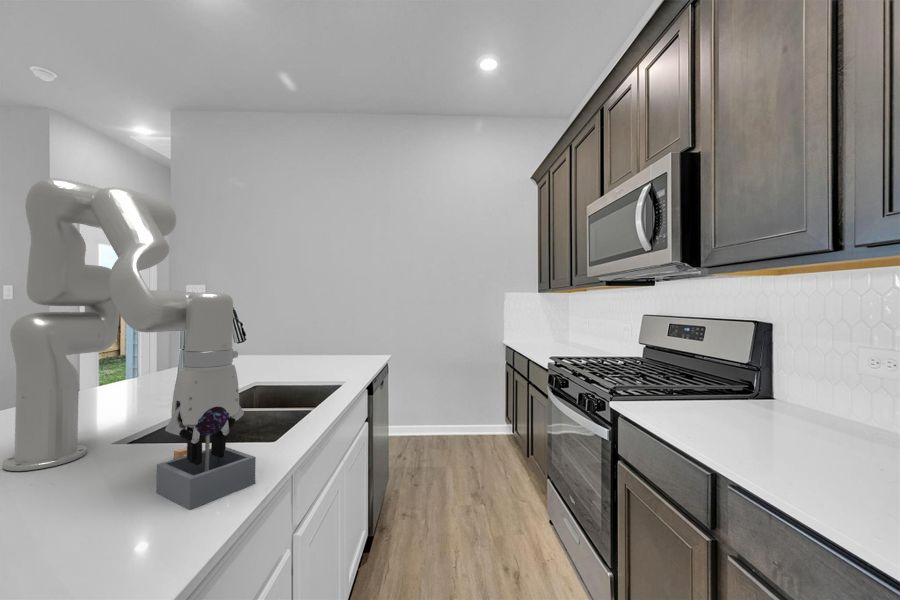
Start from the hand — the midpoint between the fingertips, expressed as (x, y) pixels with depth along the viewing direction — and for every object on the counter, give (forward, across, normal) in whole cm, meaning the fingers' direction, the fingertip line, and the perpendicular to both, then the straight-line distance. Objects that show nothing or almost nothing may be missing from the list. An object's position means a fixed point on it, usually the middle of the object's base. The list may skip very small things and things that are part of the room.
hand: (206, 458), depth 74 cm
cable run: (+5, -3, -13) cm, 14 cm away
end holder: (+5, 0, 0) cm, 5 cm away
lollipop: (+4, 0, 0) cm, 4 cm away
